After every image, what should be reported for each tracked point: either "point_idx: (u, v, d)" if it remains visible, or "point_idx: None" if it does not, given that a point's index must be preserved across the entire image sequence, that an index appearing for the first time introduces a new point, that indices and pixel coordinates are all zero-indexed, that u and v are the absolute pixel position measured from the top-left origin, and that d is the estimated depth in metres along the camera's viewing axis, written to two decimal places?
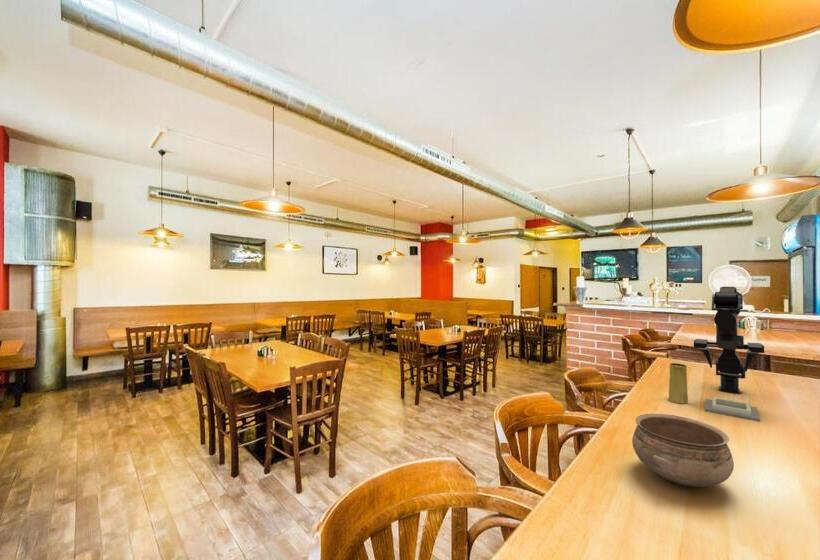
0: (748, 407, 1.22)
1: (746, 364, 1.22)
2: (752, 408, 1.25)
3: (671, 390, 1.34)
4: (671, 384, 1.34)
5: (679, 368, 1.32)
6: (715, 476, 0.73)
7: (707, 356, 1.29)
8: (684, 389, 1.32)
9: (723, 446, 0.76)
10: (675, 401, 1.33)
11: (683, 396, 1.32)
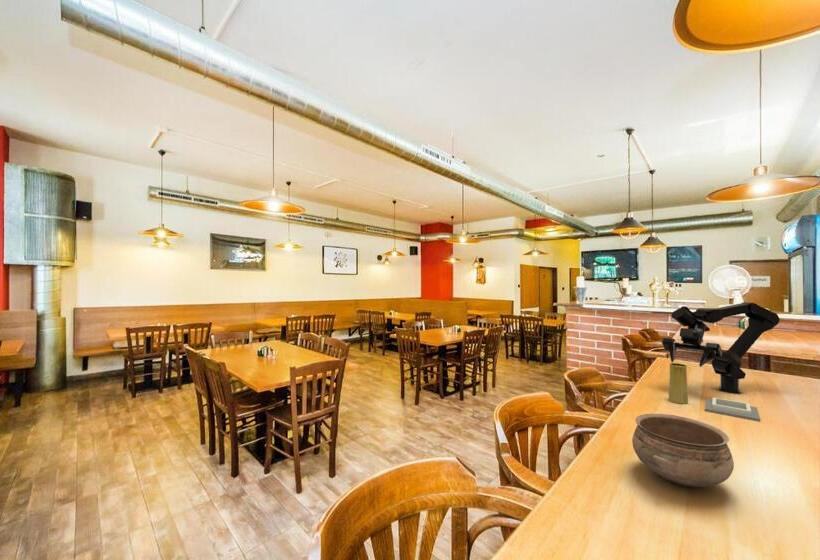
0: (748, 407, 1.22)
1: (701, 359, 1.36)
2: (752, 408, 1.25)
3: (671, 390, 1.34)
4: (671, 384, 1.34)
5: (679, 368, 1.32)
6: (715, 476, 0.73)
7: (671, 351, 1.45)
8: (684, 389, 1.32)
9: (724, 446, 0.76)
10: (675, 401, 1.33)
11: (683, 396, 1.32)
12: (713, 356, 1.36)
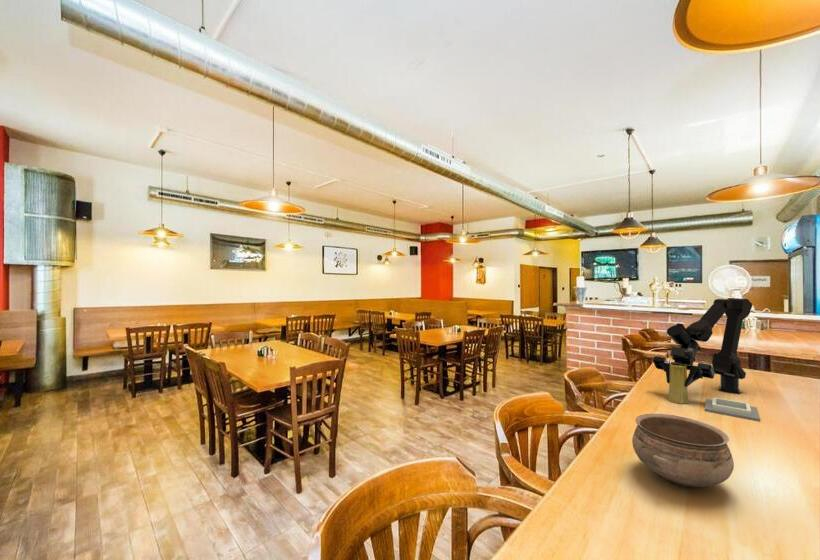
0: (748, 407, 1.22)
1: (687, 379, 1.32)
2: (752, 408, 1.25)
3: (671, 390, 1.34)
4: (671, 384, 1.34)
5: (679, 368, 1.32)
6: (715, 476, 0.73)
7: (667, 371, 1.38)
8: (684, 389, 1.32)
9: (723, 446, 0.76)
10: (675, 401, 1.33)
11: (683, 396, 1.32)
12: (699, 376, 1.32)
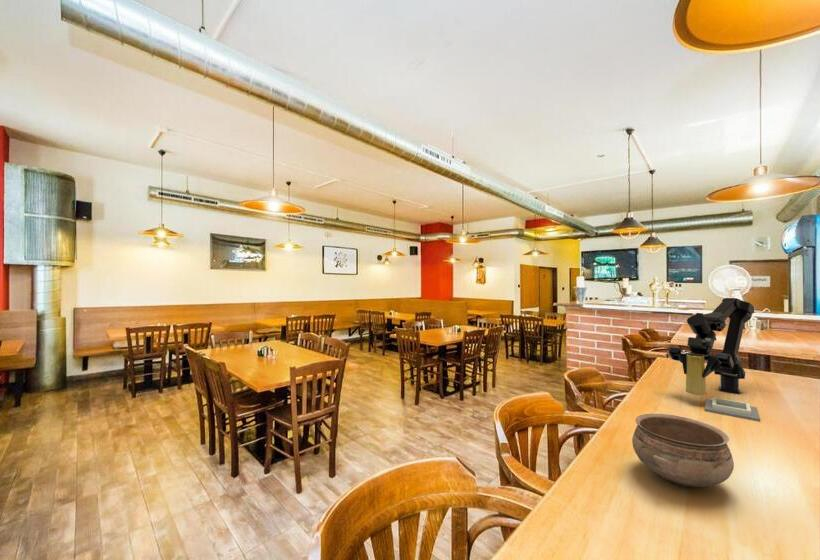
0: (748, 407, 1.22)
1: (705, 369, 1.29)
2: (752, 408, 1.25)
3: (688, 381, 1.31)
4: (688, 375, 1.31)
5: (696, 359, 1.29)
6: (715, 476, 0.73)
7: (683, 362, 1.35)
8: (702, 380, 1.29)
9: (723, 446, 0.76)
10: (693, 392, 1.30)
11: (701, 387, 1.29)
12: (718, 366, 1.29)
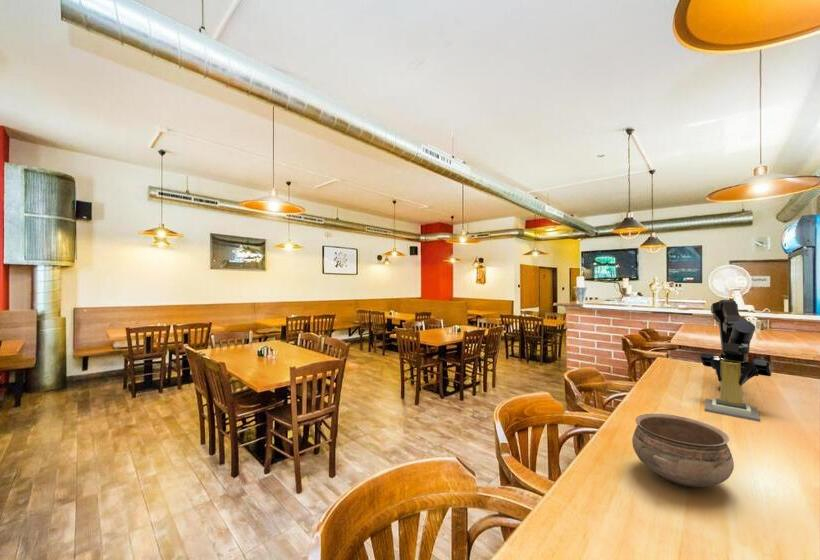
0: (748, 407, 1.22)
1: (742, 377, 1.23)
2: (752, 408, 1.25)
3: (724, 389, 1.25)
4: (723, 382, 1.25)
5: (732, 365, 1.23)
6: (715, 476, 0.73)
7: (717, 368, 1.29)
8: (739, 388, 1.22)
9: (724, 446, 0.76)
10: (729, 401, 1.23)
11: (738, 395, 1.22)
12: (755, 374, 1.23)
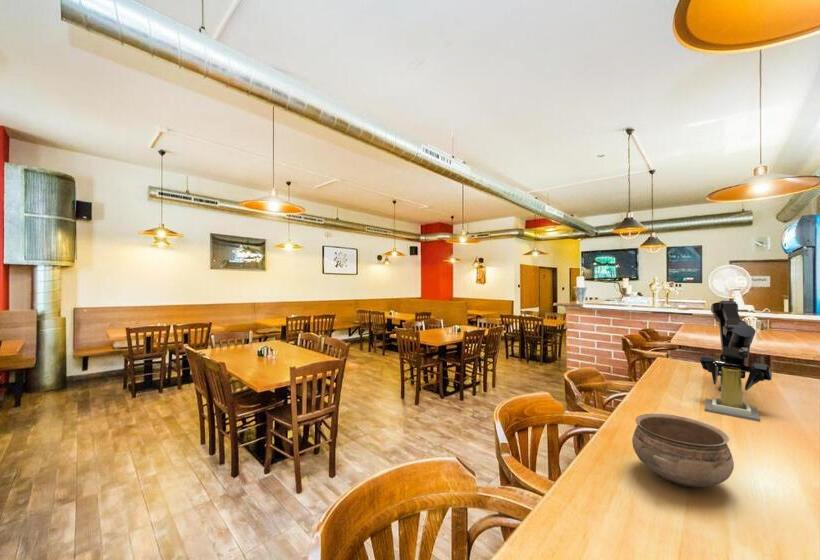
0: (748, 407, 1.22)
1: (747, 381, 1.21)
2: (752, 408, 1.25)
3: (724, 396, 1.25)
4: (724, 389, 1.25)
5: (733, 372, 1.23)
6: (715, 476, 0.73)
7: (712, 371, 1.30)
8: (739, 395, 1.22)
9: (724, 446, 0.76)
10: None
11: (738, 402, 1.22)
12: (760, 378, 1.22)
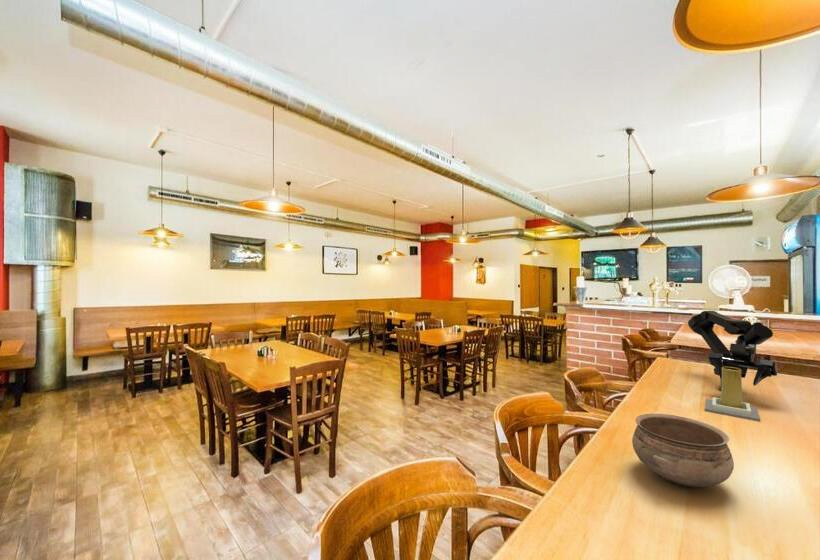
0: (748, 407, 1.22)
1: (755, 377, 1.27)
2: (752, 408, 1.25)
3: (724, 396, 1.25)
4: (724, 389, 1.25)
5: (733, 372, 1.23)
6: (715, 476, 0.73)
7: (719, 367, 1.36)
8: (739, 395, 1.22)
9: (723, 446, 0.76)
10: None
11: (738, 402, 1.22)
12: (768, 374, 1.27)
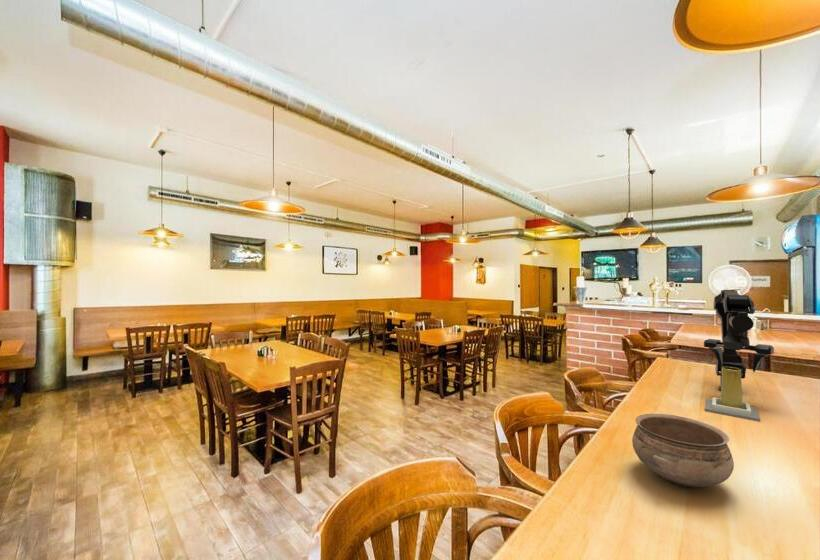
0: (748, 407, 1.22)
1: (754, 365, 1.27)
2: (752, 408, 1.25)
3: (724, 396, 1.25)
4: (724, 389, 1.25)
5: (733, 372, 1.23)
6: (715, 476, 0.73)
7: (717, 355, 1.36)
8: (739, 395, 1.22)
9: (724, 446, 0.76)
10: None
11: (738, 402, 1.22)
12: None
